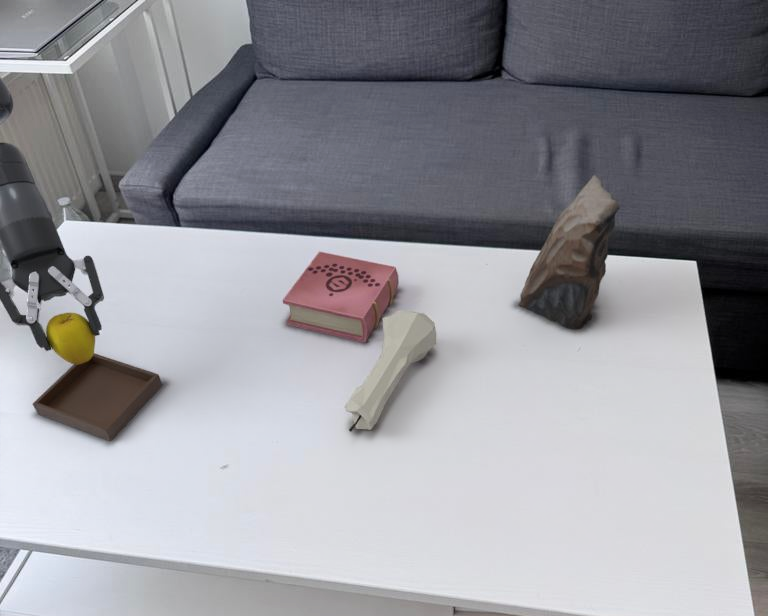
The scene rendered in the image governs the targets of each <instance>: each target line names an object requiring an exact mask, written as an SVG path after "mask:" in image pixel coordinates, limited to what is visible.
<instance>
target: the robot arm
mask: <svg viewBox="0 0 768 616" xmlns="http://www.w3.org/2000/svg"><path fill="white" fill-rule="evenodd" d="M11 93H12V92H11V91H10V89H9V87H8V85H7V83H6V82H5V80H4V79H3V78H2V77H1V76H0V125H2V124H3V123H4V122H5V121H7V120H8V119H9V117H10V116H11V114H12V113H13V110H14V99H13V96H12V94H11ZM0 244H1V246H2V249H3V251H4V253H5V256H6V258H7V261H8V263H9V265H10V267H11V272H12V273H11V278H9V279H6V280H4V281H1V282H0V302H1V304H2V305H3V307H4V309H5V311H6V313H7V314H8V316H9V318H10V320H11V321H12V322H13V323H14V324H15V325H16V326H19V327H20V326H27V327H29V328H30V332H31V334H32V335H33V338H34V340H35V343H36V345H37V346H38V347H39V348H41V349H44V350H45V352H48V351H51V350H52V351H53V349H52V348H51V346H50V344H49V342H48V339H47V336H46V331H45V330H44V327H43V325H42V324H41V323H40V313H41V310H42V301H43V302H47V301H48V302H49V301H51V300H52V299H54V298H56V297H57V298H59V297H60V298H61V297H64V296H67V294H69V295H70V296H71V297H73V299H75V300H76V301H77V302H78V303H80V304H81V305H82V306H83V311H84V313H85V316H86V319H87V320H88V322H89V323H90V326H91V328H92V331H93V333H94V335H95V337H98V336H100V332H99V331H102V329H103V325H102V323H101V321H100V318H99V316H98V313H97V311H96V307H97V305H98V304H99V303H100V302H103V301H104V299H105V295H104V292H103V289H102V284H101V282H100V279H99V275H98V270H97V267H96V264H95V262H94V259H93V257H92V256H90V255H85V256H83V258H79V259H72V258H70V257H69V255H68V254H67V252H66V250H65V247H64V244H63V242H62V239H61V237H60V234H59V232H58V230H57V227H56V225H55V223H54V220H53V216H52V214H51V211H49V208H48V205H47V203H46V201H45V199H44V198H43V196H42V194H41V192H40V190H39V188H38V186H37V184H36V181H35V178H34V176H33V174H32V172H31V169H30V167H29V163H28V162H27V160H26V158H25V155H24V153H23V152H22V151H21V149H20V148H19V147H18V146H17V145H15V144H13V143H10V142H6V141H0ZM76 269H78V270H80V272H81V274H82V275H84V276H87V277H88V281H89V284H90V287H91V291H92V293H90V294H89V295H87V294H85V293H84V292H83V291H82V290H81V289H80V288H79V287H78V286H77V285H76V284H75V283H73V279H74V276H75V273H76ZM15 287H18V288H19V289H21V290H22V291H24V292H25V293H27V300H26V305H27V307H26V314H21V312H20V310H19V309H18V307H17V305H16V303H15V302H14V299H13V297H14V296H15V294H16V293H15Z"/></svg>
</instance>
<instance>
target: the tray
mask: <svg viewBox="0 0 768 616" xmlns="http://www.w3.org/2000/svg"><path fill="white" fill-rule="evenodd" d="M162 387H163V382H162V379H161V376H160V375H159V373H156V372H153V371H149V370H147V369H144V368H140V367H137V366H134V365H131V364H128V363H125V362H122V361H118V360H116V359H113V358H110V357H107V356H104V355H101V354H98V353H95V352H94V354H93V356H92V358H91V359H90V360H89V361H87V362H84V363H82V364H79V365H75V364H72V365H71V367H69V368H68V369H67V370H66V371H65V372H64V373H63V374H62V375H61V376H60V377H59V378H58V379H57V380H56V381H55V382H53V383H52V384H51V385H50V386H49V387H48V388H47V389H46V390H44V392H43V393H42V394H41V395H40V396H39V397H38V398H37V399H36V400H35V401H34V402H33V403H32V406H33V408H34V409H35V411H36V414H38V415H39V416H42V417H44V418H47V419H50V420H53V421H55V422H58V423H61V424H62V425H66V426H68V427H71V428H74V429H77V430H79V431H82V432H84V433H88V434H90V435H93V436H95V437H98V438H101V439H103V440H106V441H109V442H112V440H113V439H114V438H115V437H116V436H117V435H118V434H119V433H120V432H121V431H122V430H123V429H124V427H126V425H128V423H130V421H131V420H132V419H133V418H134V417H135V416H136V415H137V414H138V412H139V411H140V410H141V409H142V408H144V406H145V405H146V404H147V403H148V402H149V401H150V399H152V397H153V396H155V394H156V393H157V392H158V391H159V390H160V389H161V388H162Z"/></svg>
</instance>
